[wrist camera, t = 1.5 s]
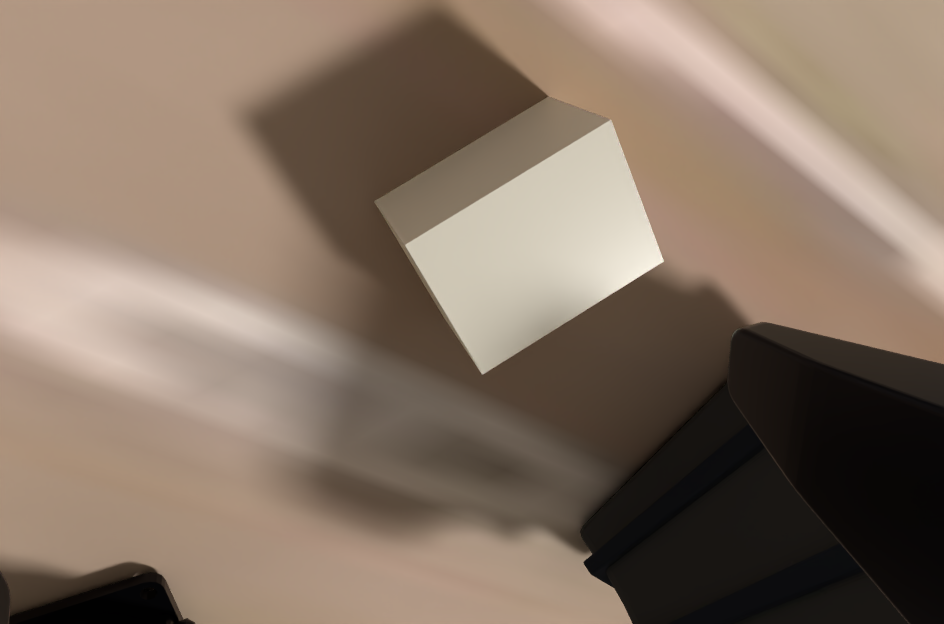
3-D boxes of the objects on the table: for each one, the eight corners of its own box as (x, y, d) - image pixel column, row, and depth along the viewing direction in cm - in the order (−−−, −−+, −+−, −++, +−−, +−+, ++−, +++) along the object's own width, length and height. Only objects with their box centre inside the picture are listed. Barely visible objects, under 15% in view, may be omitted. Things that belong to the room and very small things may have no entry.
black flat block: (894, 341, 28) (1165, 802, 18) (604, 465, 34) (677, 868, 23) (863, 288, 26) (1148, 776, 15) (559, 431, 32) (616, 856, 21)
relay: (442, 315, 23) (482, 374, 20) (373, 200, 21) (404, 245, 18) (598, 218, 24) (663, 261, 20) (546, 95, 21) (611, 119, 18)
